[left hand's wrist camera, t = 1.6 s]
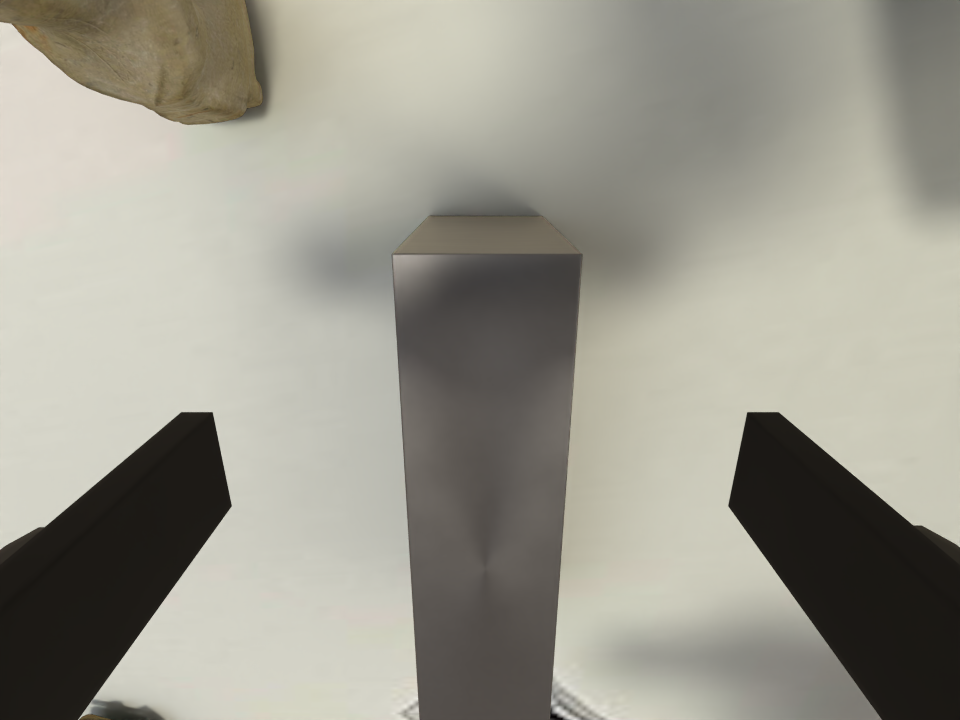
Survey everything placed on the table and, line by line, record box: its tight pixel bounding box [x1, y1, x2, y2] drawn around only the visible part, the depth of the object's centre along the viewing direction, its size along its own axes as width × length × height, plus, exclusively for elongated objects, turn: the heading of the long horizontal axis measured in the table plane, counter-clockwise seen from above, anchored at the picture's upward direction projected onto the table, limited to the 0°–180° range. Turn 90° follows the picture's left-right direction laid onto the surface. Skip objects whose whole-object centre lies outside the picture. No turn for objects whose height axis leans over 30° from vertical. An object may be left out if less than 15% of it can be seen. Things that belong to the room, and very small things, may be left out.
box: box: [392, 216, 582, 720], centre depth 28 cm, size 26×6×12 cm, turn 0°
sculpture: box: [0, 0, 263, 125], centre depth 19 cm, size 6×7×15 cm
